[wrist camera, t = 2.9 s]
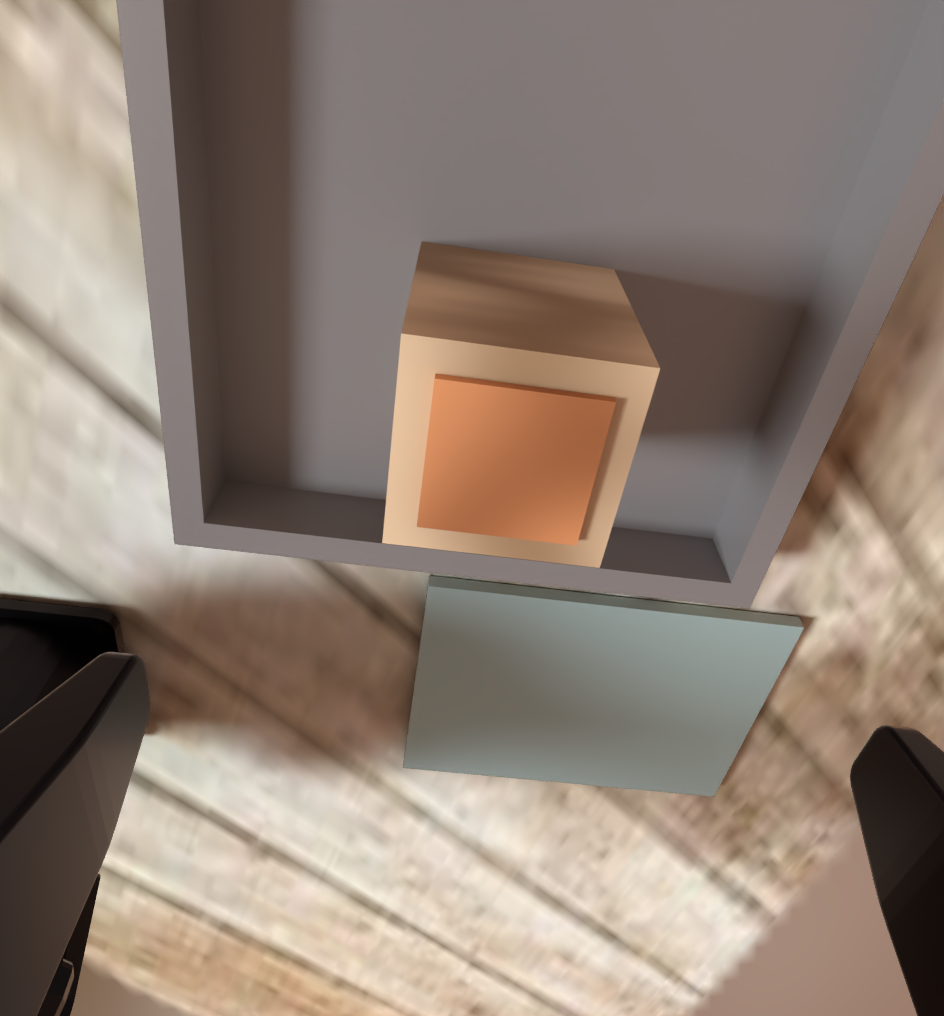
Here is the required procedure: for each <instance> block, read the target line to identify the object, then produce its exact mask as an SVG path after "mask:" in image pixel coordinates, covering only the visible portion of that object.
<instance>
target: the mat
mask: <svg viewBox="0 0 944 1016" xmlns="http://www.w3.org/2000/svg"><path fill="white" fill-rule="evenodd" d="M803 629H804V626H803V624H802V622H801V620H800V618H799V617H796V616H787V615H778V614H769V613H760V612H751V611H742V610H733V609H725V608H716V607H707V606H698V605H689V604H680V603H671V602H662V601H653V600H644V599H635V598H626V597H617V596H608V595H599V594H590V593H581V592H572V591H564V590H555V589H546V588H537V587H528V586H519V585H510V584H501V583H492V582H483V581H474V580H465V579H456V578H447V577H438V576H429V582H428V589H427V596H426V604H425V611H424V618H423V625H422V632H421V639H420V647H419V654H418V661H417V668H416V675H415V683H414V690H413V697H412V704H411V711H410V718H409V726H408V733H407V740H406V747H405V754H404V764H403V768H410V769H421V770H432V771H443V772H453V773H464V774H475V775H486V776H496V777H507V778H518V779H529V780H539V781H550V782H561V783H572V784H582V785H593V786H604V787H615V788H625V789H636V790H647V791H658V792H668V793H679V794H690V795H701V796H711V797H714V796H715V794H716V792H717V790H718V788H719V786H720V784H721V783H722V781H723V779H724V777H725V775H726V773H727V771H728V770H729V768H730V766H731V764H732V762H733V760H734V758H735V756H736V755H737V753H738V751H739V749H740V747H741V745H742V743H743V741H744V740H745V738H746V736H747V734H748V732H749V730H750V728H751V726H752V725H753V723H754V721H755V719H756V717H757V715H758V713H759V711H760V710H761V708H762V706H763V704H764V702H765V700H766V698H767V697H768V695H769V693H770V691H771V689H772V687H773V685H774V683H775V682H776V680H777V678H778V676H779V674H780V672H781V670H782V668H783V667H784V665H785V663H786V661H787V659H788V657H789V655H790V653H791V652H792V650H793V648H794V646H795V644H796V642H797V640H798V639H799V637H800V635H801V633H802V631H803Z"/></svg>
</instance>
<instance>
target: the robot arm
mask: <svg viewBox="0 0 944 1016" xmlns="http://www.w3.org/2000/svg"><path fill="white" fill-rule="evenodd" d="M99 624H101V625H103V626H101V625H99ZM149 714H150V696H149V690H148V684H147V678H146V671H145V665H144V661H143V659H142V658H141V657H140V656H139V655H136V654H128V653H125V652H124V646H123V640H122V634H121V628H120V623H119V620H118V618H117V617H116V616H115V615H114V614H113V613H111V612H109V611H106V610H102V609H93V608H83V607H74V606H64V605H55V604H45V603H36V602H26V601H17V600H7V599H0V1016H70V1014H71V1010H72V1007H73V1003H74V999H75V994H76V990H77V985H78V980H79V975H80V970H81V966H82V961H83V957H84V952H85V947H86V942H87V938H88V933H89V928H90V924H91V919H92V914H93V909H94V905H95V900H96V895H97V891H98V886H99V881H100V874H98V872H99V870H100V868H101V865H102V863H103V860H104V858H105V855H106V853H107V850H108V848H109V845H110V842H111V839H112V836H113V833H114V830H115V827H116V824H117V821H118V818H119V814H120V811H121V808H122V805H123V801H124V798H125V795H126V791H127V788H128V785H129V782H130V778H131V775H132V772H133V769H134V765H135V762H136V759H137V756H138V752H139V749H140V746H141V742H142V739H143V736H144V733H145V729H146V726H147V723H148V719H149ZM850 780H851V787H852V792H853V796H854V800H855V804H856V809H857V813H858V817H859V821H860V825H861V830H862V834H863V838H864V842H865V847H866V851H867V855H868V859H869V864H870V868H871V872H872V876H873V880H874V885H875V888H876V892H877V896H878V900H879V903H880V906H881V910H882V913H883V916H884V919H885V922H886V926H887V929H888V931H889V934H890V937H891V940H892V943H893V946H894V949H895V952H896V955H897V958H898V961H899V964H900V966H901V969H902V972H903V975H904V978H905V981H906V984H907V987H908V990H909V993H910V996H911V998H912V1002H913V1004H914V1007H915V1010H916V1013H917V1016H944V752H943V751H942V750H941V749H940V748H938V747H937V746H936V745H935V744H934V743H932V742H931V741H930V740H929V739H928V738H926V737H925V736H924V735H923V734H922V733H920V732H919V731H917V730H915V729H912V728H908V727H898V726H887V725H886V726H881V727H879V728H878V729H876V730H875V731H874V733H873V734H872V736H871V737H870V739H869V740H868V742H867V743H866V745H865V746H864V748H863V749H862V751H861V752H860V754H859V755H858V757H857V758H856V760H855V761H854V763H853V765H852V768H851V774H850Z"/></svg>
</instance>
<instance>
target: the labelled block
mask: <svg viewBox="0 0 944 1016" xmlns="http://www.w3.org/2000/svg"><path fill="white" fill-rule="evenodd" d="M659 371H660V366H659V364H658V362H657V360H656V358H655V356H654V354H653V351H652V349H651V347H650V345H649V343H648V341H647V339H646V336H645V334H644V332H643V330H642V328H641V326H640V324H639V322H638V319H637V317H636V315H635V313H634V311H633V309H632V307H631V304H630V302H629V300H628V298H627V296H626V294H625V292H624V289H623V287H622V285H621V283H620V281H619V279H618V277H617V275H616V272H615V270H614V269H610V268H603V267H596V266H589V265H582V264H575V263H568V262H561V261H554V260H547V259H540V258H533V257H526V256H519V255H512V254H505V253H498V252H491V251H485V250H478V249H471V248H464V247H457V246H450V245H443V244H436V243H429V242H422V241H421V246H420V250H419V255H418V259H417V264H416V268H415V273H414V277H413V282H412V286H411V291H410V296H409V300H408V305H407V309H406V314H405V318H404V323H403V327H402V332H401V340H400V351H399V362H398V374H397V385H396V396H395V407H394V418H393V429H392V440H391V451H390V462H389V473H388V484H387V496H386V507H385V518H384V529H383V540H382V543H386V544H395V545H403V546H412V547H421V548H429V549H438V550H447V551H456V552H464V553H473V554H482V555H491V556H499V557H508V558H517V559H526V560H534V561H543V562H552V563H561V564H569V565H578V566H587V567H596V568H600V565H601V562H602V559H603V556H604V552H605V549H606V546H607V542H608V539H609V536H610V533H611V529H612V526H613V523H614V519H615V516H616V513H617V509H618V506H619V503H620V500H621V496H622V493H623V490H624V486H625V483H626V480H627V477H628V473H629V470H630V467H631V463H632V460H633V457H634V454H635V450H636V447H637V444H638V440H639V437H640V434H641V431H642V427H643V424H644V421H645V417H646V414H647V411H648V408H649V404H650V401H651V398H652V394H653V391H654V388H655V385H656V381H657V378H658V375H659Z"/></svg>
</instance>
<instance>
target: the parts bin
mask: <svg viewBox="0 0 944 1016" xmlns="http://www.w3.org/2000/svg"><path fill="white" fill-rule="evenodd" d="M116 2H117V12H118V21H119V30H120V40H121V49H122V58H123V68H124V77H125V86H126V96H127V105H128V114H129V124H130V133H131V142H132V152H133V161H134V170H135V179H136V189H137V198H138V207H139V217H140V226H141V235H142V245H143V254H144V263H145V273H146V282H147V291H148V301H149V310H150V319H151V329H152V338H153V347H154V357H155V366H156V375H157V385H158V394H159V403H160V413H161V422H162V431H163V441H164V450H165V459H166V469H167V478H168V487H169V496H170V506H171V515H172V524H173V534H174V543H175V544H178V545H187V546H196V547H205V548H214V549H223V550H232V551H241V552H250V553H259V554H268V555H277V556H286V557H294V558H303V559H312V560H321V561H330V562H339V563H348V564H357V565H366V566H375V567H384V568H393V569H402V570H410V571H419V572H428V573H437V574H446V575H455V576H464V577H473V578H482V579H491V580H500V581H509V582H518V583H526V584H535V585H544V586H553V587H562V588H571V589H580V590H589V591H598V592H607V593H616V594H625V595H634V596H642V597H651V598H660V599H669V600H678V601H687V602H696V603H705V604H714V605H723V606H732V607H741V608H750V607H751V604H752V602H753V600H754V598H755V596H756V594H757V592H758V589H759V587H760V585H761V583H762V581H763V579H764V577H765V575H766V572H767V570H768V568H769V566H770V564H771V562H772V560H773V557H774V555H775V553H776V551H777V549H778V547H779V545H780V542H781V540H782V538H783V536H784V534H785V532H786V530H787V528H788V525H789V523H790V521H791V519H792V517H793V515H794V513H795V510H796V508H797V506H798V504H799V502H800V500H801V498H802V496H803V493H804V491H805V489H806V487H807V485H808V483H809V481H810V478H811V476H812V474H813V472H814V470H815V468H816V466H817V464H818V461H819V459H820V457H821V455H822V453H823V451H824V449H825V446H826V444H827V442H828V440H829V438H830V436H831V434H832V432H833V429H834V427H835V425H836V423H837V421H838V419H839V417H840V414H841V412H842V410H843V408H844V406H845V404H846V402H847V399H848V397H849V395H850V393H851V391H852V389H853V387H854V385H855V382H856V380H857V378H858V376H859V374H860V372H861V370H862V367H863V365H864V363H865V361H866V359H867V357H868V355H869V353H870V350H871V348H872V346H873V344H874V342H875V340H876V338H877V335H878V333H879V331H880V329H881V327H882V325H883V323H884V321H885V318H886V316H887V314H888V312H889V310H890V308H891V306H892V303H893V301H894V299H895V297H896V295H897V293H898V291H899V288H900V286H901V284H902V282H903V280H904V278H905V276H906V274H907V271H908V269H909V267H910V265H911V263H912V261H913V259H914V256H915V254H916V252H917V250H918V248H919V246H920V244H921V242H922V239H923V237H924V235H925V233H926V231H927V229H928V227H929V224H930V222H931V220H932V218H933V216H934V214H935V212H936V210H937V207H938V205H939V203H940V201H941V199H942V197H943V195H944V0H116ZM421 241H422V242H429V243H436V244H443V245H450V246H457V247H464V248H471V249H478V250H485V251H491V252H498V253H505V254H512V255H519V256H526V257H533V258H540V259H547V260H554V261H561V262H568V263H575V264H582V265H589V266H596V267H603V268H610V269H614V270H615V272H616V275H617V277H618V279H619V281H620V283H621V285H622V287H623V289H624V292H625V294H626V296H627V298H628V300H629V302H630V304H631V307H632V309H633V311H634V313H635V315H636V317H637V319H638V322H639V324H640V326H641V328H642V330H643V332H644V334H645V336H646V339H647V341H648V343H649V345H650V347H651V349H652V351H653V354H654V356H655V358H656V360H657V362H658V364H659V366H660V371H659V375H658V378H657V381H656V385H655V388H654V391H653V394H652V398H651V401H650V404H649V408H648V411H647V414H646V417H645V421H644V424H643V427H642V431H641V434H640V437H639V440H638V444H637V447H636V450H635V454H634V457H633V460H632V463H631V467H630V470H629V473H628V477H627V480H626V483H625V486H624V490H623V493H622V496H621V500H620V503H619V506H618V509H617V513H616V516H615V519H614V523H613V526H612V529H611V533H610V536H609V539H608V542H607V546H606V549H605V552H604V556H603V559H602V562H601V565H600V568H596V567H587V566H578V565H569V564H561V563H552V562H543V561H534V560H526V559H517V558H508V557H499V556H491V555H482V554H473V553H464V552H456V551H447V550H438V549H429V548H421V547H412V546H403V545H395V544H386V543H382V540H383V529H384V518H385V507H386V496H387V484H388V473H389V462H390V451H391V440H392V429H393V418H394V407H395V396H396V385H397V374H398V362H399V351H400V340H401V332H402V327H403V323H404V318H405V314H406V309H407V305H408V300H409V296H410V291H411V286H412V282H413V277H414V273H415V268H416V264H417V259H418V255H419V250H420V246H421Z"/></svg>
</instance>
